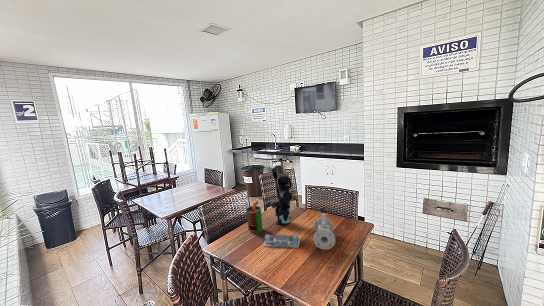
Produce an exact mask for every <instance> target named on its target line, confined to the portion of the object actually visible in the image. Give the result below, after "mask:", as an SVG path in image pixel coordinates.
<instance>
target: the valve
mask: <svg viewBox="0 0 544 306" xmlns="http://www.w3.org/2000/svg"><path fill="white" fill-rule="evenodd" d="M320 212H321V213H320V214H321V216H320V217H317V218H316V219H315V220H314V223H313V229H314V231H315V232H314V234H313V243H314V245H315V246H316V247H317V248H319V249H320V250H325V251H326V250H330V249H332V248H333V247H334V246H335V244H336V235H335V234H334V233H333V231H334V223H333V221H332V220H331V218H329V217H326V210H325V208H320Z"/></svg>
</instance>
